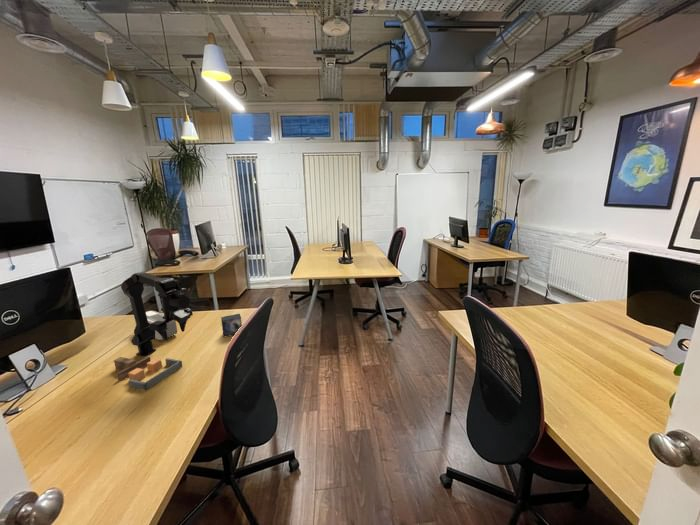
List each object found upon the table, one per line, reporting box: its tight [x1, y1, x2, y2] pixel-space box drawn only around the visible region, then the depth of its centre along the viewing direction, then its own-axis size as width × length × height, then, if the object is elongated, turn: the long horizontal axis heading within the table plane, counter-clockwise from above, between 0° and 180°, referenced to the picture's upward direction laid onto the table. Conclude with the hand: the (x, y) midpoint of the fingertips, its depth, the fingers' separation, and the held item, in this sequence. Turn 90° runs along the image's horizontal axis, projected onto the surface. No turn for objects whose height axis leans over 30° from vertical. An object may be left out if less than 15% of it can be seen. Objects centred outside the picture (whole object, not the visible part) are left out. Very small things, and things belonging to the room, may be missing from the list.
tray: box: [128, 357, 183, 391], centre depth 127 cm, size 9×18×3 cm, turn 162°
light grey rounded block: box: [145, 310, 178, 341], centre depth 168 cm, size 27×9×12 cm, turn 58°
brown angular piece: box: [113, 356, 151, 382], centre depth 133 cm, size 11×14×5 cm
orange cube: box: [146, 358, 163, 373], centre depth 133 cm, size 4×4×4 cm
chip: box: [128, 368, 146, 381], centre depth 126 cm, size 4×4×4 cm
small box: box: [220, 313, 243, 337], centre depth 166 cm, size 11×6×10 cm, turn 117°
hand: (174, 335), depth 136 cm, fingers open, 9 cm apart
